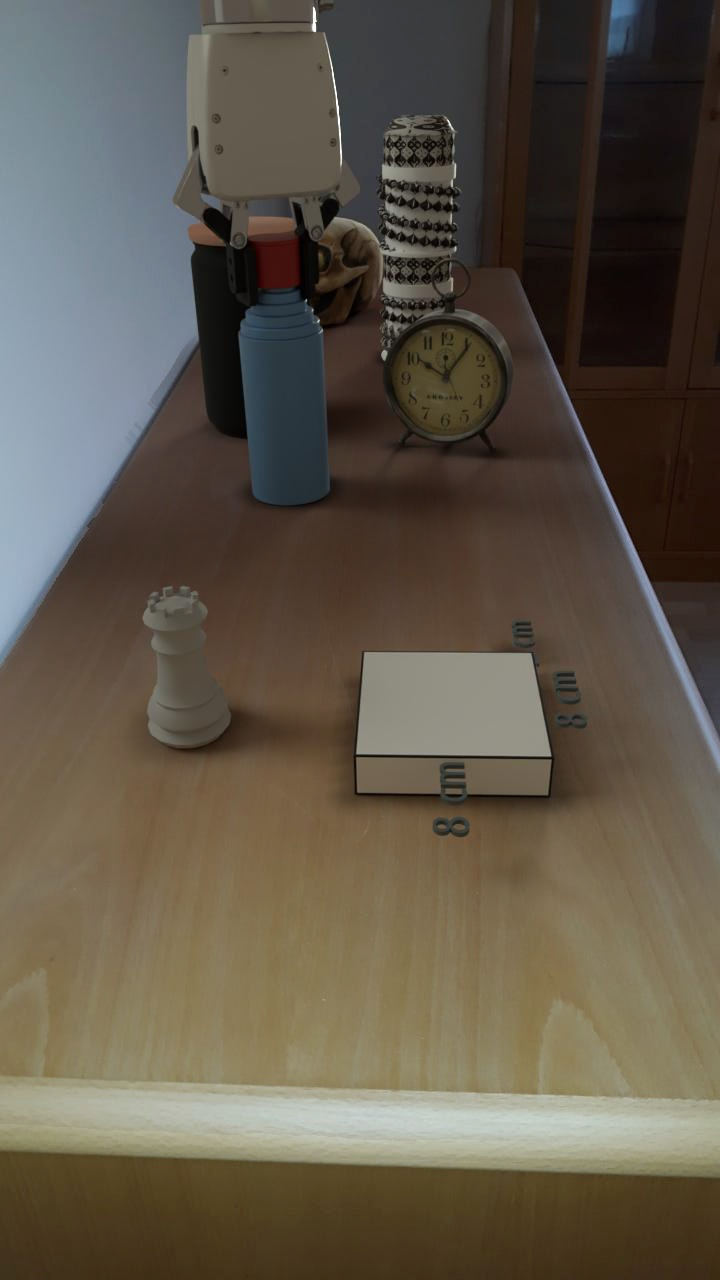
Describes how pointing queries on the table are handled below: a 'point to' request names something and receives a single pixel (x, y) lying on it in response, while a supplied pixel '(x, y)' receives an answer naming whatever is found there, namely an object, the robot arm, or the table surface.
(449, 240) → the decorative candle
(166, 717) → the rook chess piece
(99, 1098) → the table surface
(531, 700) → the container
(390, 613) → the table surface
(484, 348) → the alarm clock
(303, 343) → the bottle
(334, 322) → the skull
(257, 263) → the cap
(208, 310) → the coffee jar
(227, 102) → the robot arm
